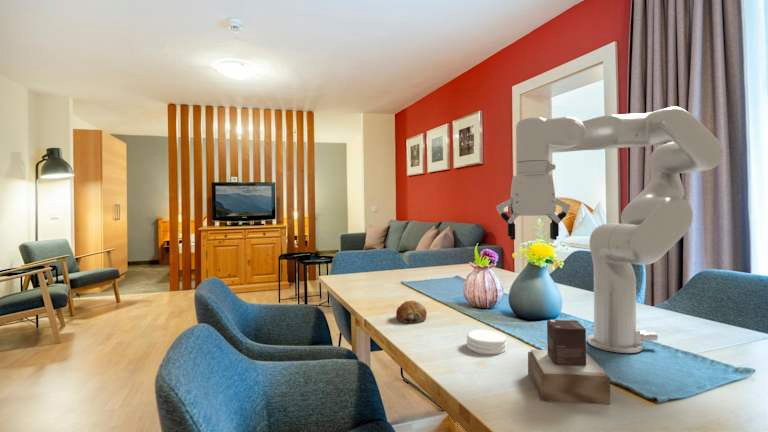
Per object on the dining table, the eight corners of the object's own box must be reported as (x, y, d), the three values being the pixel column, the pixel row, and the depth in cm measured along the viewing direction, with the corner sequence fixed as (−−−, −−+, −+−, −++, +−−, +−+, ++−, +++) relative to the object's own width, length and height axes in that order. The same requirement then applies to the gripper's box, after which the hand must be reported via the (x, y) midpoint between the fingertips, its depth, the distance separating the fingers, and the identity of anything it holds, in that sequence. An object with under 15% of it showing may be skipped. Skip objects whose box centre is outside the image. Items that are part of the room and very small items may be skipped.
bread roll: (429, 330, 131) (433, 306, 134) (416, 324, 123) (420, 298, 126) (403, 326, 137) (407, 302, 139) (388, 319, 129) (393, 295, 131)
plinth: (586, 376, 86) (586, 350, 86) (610, 404, 74) (610, 374, 74) (528, 374, 87) (527, 348, 87) (542, 400, 75) (541, 371, 75)
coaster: (459, 345, 107) (459, 332, 107) (489, 339, 111) (489, 327, 111) (482, 358, 98) (482, 344, 98) (515, 351, 102) (515, 338, 101)
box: (586, 367, 77) (586, 329, 77) (553, 365, 78) (553, 327, 78) (577, 355, 83) (577, 320, 83) (546, 354, 84) (546, 319, 84)
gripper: (564, 170, 101) (565, 238, 102) (494, 172, 104) (494, 238, 104) (574, 167, 94) (574, 240, 94) (498, 169, 96) (498, 240, 97)
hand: (532, 239), depth 99 cm, fingers open, 9 cm apart
